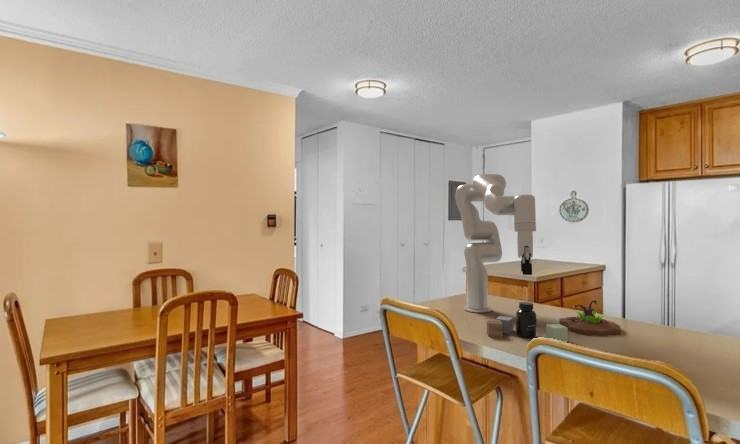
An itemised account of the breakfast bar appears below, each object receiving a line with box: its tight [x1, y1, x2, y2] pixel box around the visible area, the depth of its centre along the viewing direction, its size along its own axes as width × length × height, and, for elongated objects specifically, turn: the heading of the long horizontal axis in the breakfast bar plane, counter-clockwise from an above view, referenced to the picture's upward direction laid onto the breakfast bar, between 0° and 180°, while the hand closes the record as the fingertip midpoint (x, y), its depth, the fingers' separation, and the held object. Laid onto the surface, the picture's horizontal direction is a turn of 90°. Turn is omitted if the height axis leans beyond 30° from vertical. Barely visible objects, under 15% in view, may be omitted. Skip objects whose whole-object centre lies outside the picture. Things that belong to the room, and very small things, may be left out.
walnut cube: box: [486, 319, 504, 338], centre depth 145 cm, size 5×5×5 cm
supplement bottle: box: [515, 301, 537, 339], centre depth 143 cm, size 7×7×12 cm
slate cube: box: [495, 315, 514, 335], centre depth 149 cm, size 5×5×5 cm
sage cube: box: [545, 323, 569, 343], centre depth 138 cm, size 5×5×5 cm
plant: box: [558, 299, 622, 337], centre depth 151 cm, size 20×20×11 cm
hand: (526, 273), depth 146 cm, fingers open, 9 cm apart
